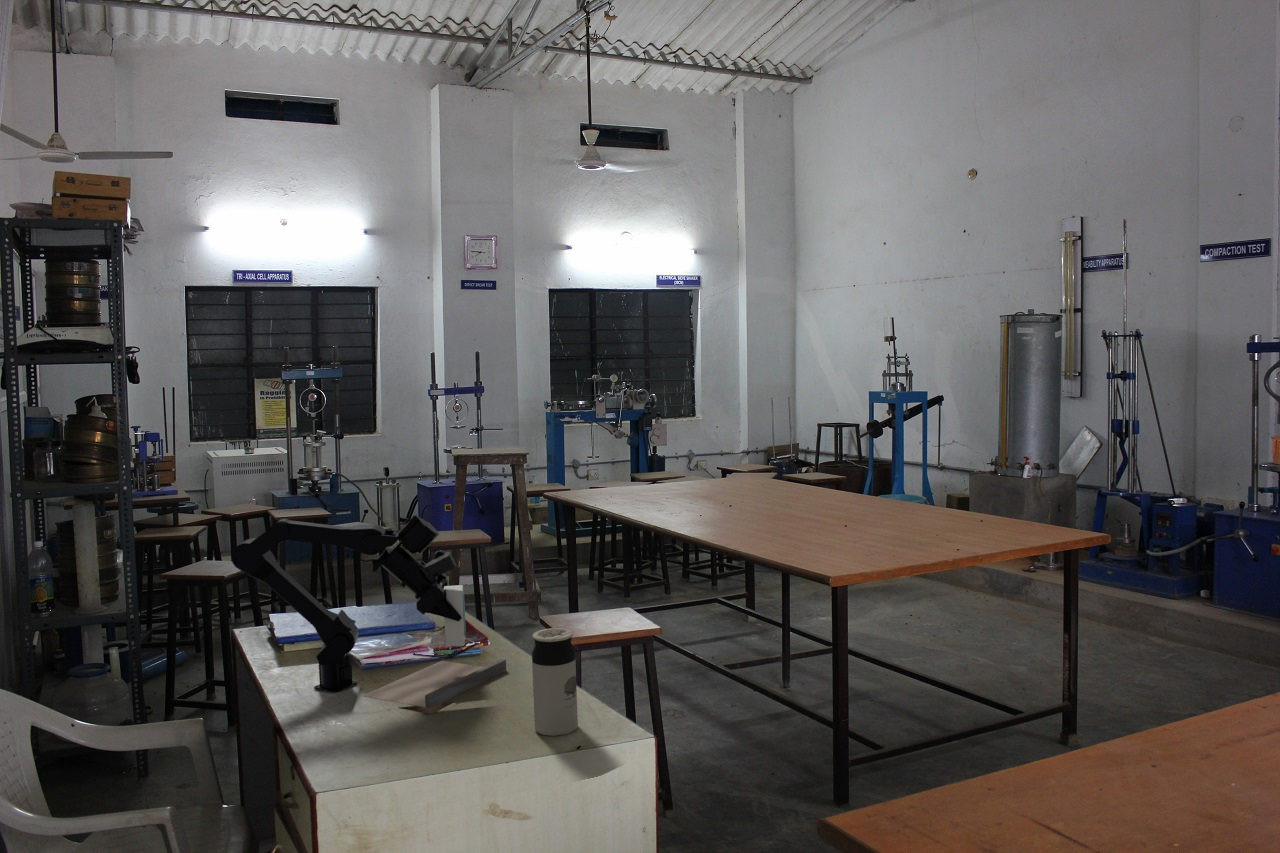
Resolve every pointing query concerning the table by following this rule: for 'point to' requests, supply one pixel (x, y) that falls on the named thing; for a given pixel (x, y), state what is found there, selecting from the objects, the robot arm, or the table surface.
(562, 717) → the travel mug
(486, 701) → the table surface
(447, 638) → the product box
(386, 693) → the shelf board
